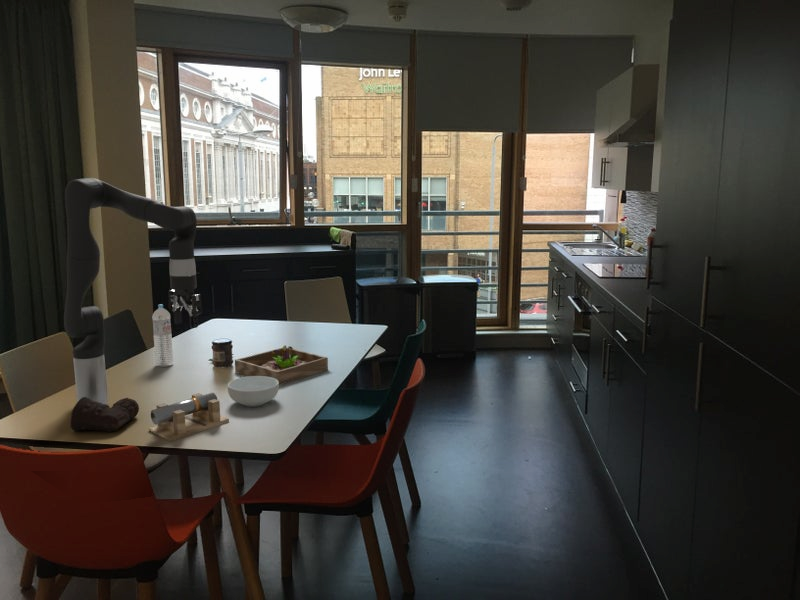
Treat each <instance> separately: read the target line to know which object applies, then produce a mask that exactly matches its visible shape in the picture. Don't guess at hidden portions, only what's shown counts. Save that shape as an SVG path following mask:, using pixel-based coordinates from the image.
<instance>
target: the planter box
mask: <svg viewBox="0 0 800 600" xmlns="http://www.w3.org/2000/svg"><path fill="white" fill-rule="evenodd" d="M286 348H287V349H288V347H287V346H286ZM273 350H280V351H281V352H283V353H285V352H284V350H283V347H281V348H276V349H272V350H269V351H264V352H261V353H257V354H252V355H248V356H245V357H241V358H237V359H234V369H235V370H234V371H235V373H237V374H240V375H243V376H245V377H247V376H266V377H271V378H274V379H276V380H278V382H279V386H280V385H283V384H285V383H286V384H287V383H290V382H293V381H296V380H300V379H302V378H306V377H309V376H312V375H316V374H318V373H321V372H326V371H328V370H329V360H328V359H329V357H327V356H323V355H319V354H315V353H310V352H307V351H303V350H299V349H294V348H293V350H290V348H289V354H290V356H291V359H292V358H293V357H294V356H297V355H298V357H297V358H296V359H297V360H305V361H309V362H307V363H304V364H300V365H297V366H294V367H290V368H287V369H283V370H280V371H276V370H272V369H269V368H265V367H262V365H263V364H266V363H267V362H268V361H274V360H275V359H274V358H273V357H275V358H278V356H281V357H282V354H281V353H280V352H278V351H276V352H275V354H273V353H272V351H273ZM278 359H279V358H278Z"/></svg>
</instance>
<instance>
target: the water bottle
mask: <svg viewBox="0 0 800 600" xmlns="http://www.w3.org/2000/svg"><path fill="white" fill-rule="evenodd" d="M157 306H158V308H157V309H156V310H154V312H153V314H152V316H151V318H152V327H153V344H154V345H153V346H154V360H155V366H156V367H158V368H167V367H172V366H173V365H174V352H173V351H174V350H173V337H172V335H173V334H172V327H171V326H172V324H171V313H170V312H169V311H168V310H167V309H166V308H164V304H162V303H161V304H158V305H157Z"/></svg>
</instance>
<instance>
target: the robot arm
mask: <svg viewBox="0 0 800 600" xmlns="http://www.w3.org/2000/svg"><path fill="white" fill-rule="evenodd" d="M65 187H66V188H65V190H64V202H65V213H66V223H67V224H66V225H67V252H66V274H67V276H66V277H67V279H66V295H65V305H64V314H63V327H64V331H65V333H66V335H67V336H68V337H70V338H72V339H74V338H75V339H76V338H81V337H86V338H85V339H84V340H83V341H82V342H80V343H79V344H77V345H76V346H75V347H74V348H72V359H73V361H72V362H73V369H74V379H75V381H74V382H75V389H76V391H75V392H76V400H77V401H76V403H77V402H78V401H79V400H80V399H81V398H83V397H87V398H89V399H91V400H92V401H97V402H98V403H102V404H106V405H108V404H109V399H108V398H109V397H108V382H107V371H106V369H107V368H106V361H105V346H106V341H105V340H106V339H105V319H104V315H103V312H102V310H101V308H100V307H98V306H95V305H92V306H91V305H90V306H83V302H84V299H85V296H86V294H87V292H88V290H89V289H90V287H92V284H93V283H94V281H95V280H96V279H97V277H98V275H99V272H100V264H101V263H100V262H101V251H100V246H99V245H98V242H97V240H96V238H95V237H94V235H93V232H92V231H91V226H90V214H91V213H90V212H91V209H96V208H99V207H101V208H102V207H103V208H111V209H112V208H113V209H116V210H119V211H122V212H124V214H126V215H128V216H129V217H131V218H133V219H136V220H139V221H141V222H142V221H143V222H147V223H150V224H154V225H155V226H158V227H160V228H162V229H165V230H167V231H172V232H175V233H174V237H173V238H172V239H171V240H169V243H168V254H169V264H168V265H169V281H170V289H171V290H170V289H169V290H168V292H167V294H168V309H169V310H171V311H172V312H173V319H174V320H173V321H174V322H173V323H174V324H175V325H180V324H182V323H183V315H182V314H183V313H182V310H183V308H184V310H186V311H187V312H188V314H189V327H190V328H191V329H196V328H199V321H198V320H199V319H198V316H199V315H202V314H203V307H202V296H201V294H200V293H199V294H195V292H194V290H195V289H196V288H197V287H198V285H197V270H196V267H197V265H196V259H195V249H194V248H195V247H194V242H195V239H196V233H197V225H198V224H197V222H198V220H197V216H196V213H195V211H194V210H193V209H192V208H191V207H189V206H187V205H186V206H185V205H183V206H170V205H166V204H164V203H163V202H162V201H161V200H158V199H153V198H150V197H146V196H142V195H139V194H135V193H131V192H128V191H125V190H122V189H120V188H119V187H116V186H113V185H111V184H110V183H107V182H105V181H102V180H100V179H98V178H95V177H86V178H85V177H84V178H77V179H76V178H75V179H73V180H71V181H69V182H68V183H67V185H66V186H65Z"/></svg>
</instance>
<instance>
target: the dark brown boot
mask: <svg viewBox="0 0 800 600" xmlns="http://www.w3.org/2000/svg"><path fill="white" fill-rule="evenodd" d="M139 407H140V405H139V403H138V402H137V401H136V400H135V399H132V398H129V397H124V398H121V399H119V400H117V401H116V402H115V403H113V404H112V406H111V407H110V406H109V405H108V404H107V405H106V404H102V403H98V402H97V401H92V400H91V399H89V398H87V397H83V398H81V399H80V400H79V401H78V402H77V401H76V403H75V405H74V407H73V409H72V412H71V417H70V428H71V429H72V430H73V431H74V432H75V431H83V430H84V431H86V432H87V431H94V430H95V431H102V432H103V431H104V432H108V433H110V432H115V431H117V430H118V429H119V428H121V427H123V426H124V425H125V424H126V423H127V422H129V421H132V420H133V419H134V418H135V417H137V415H138V413H139V411H140V408H139Z"/></svg>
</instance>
